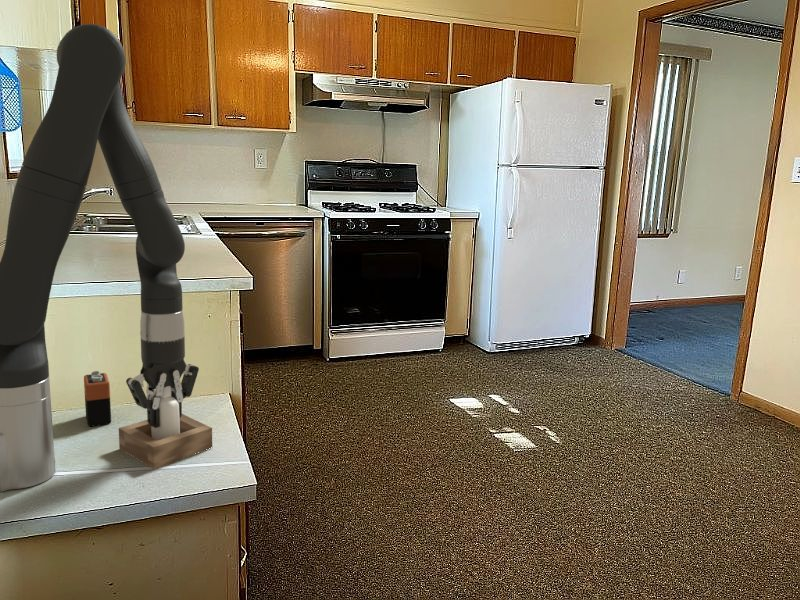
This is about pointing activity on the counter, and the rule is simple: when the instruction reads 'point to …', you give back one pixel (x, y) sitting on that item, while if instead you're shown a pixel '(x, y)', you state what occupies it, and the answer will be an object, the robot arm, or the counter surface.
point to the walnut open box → (164, 442)
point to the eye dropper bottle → (167, 416)
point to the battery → (97, 399)
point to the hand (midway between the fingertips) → (165, 422)
